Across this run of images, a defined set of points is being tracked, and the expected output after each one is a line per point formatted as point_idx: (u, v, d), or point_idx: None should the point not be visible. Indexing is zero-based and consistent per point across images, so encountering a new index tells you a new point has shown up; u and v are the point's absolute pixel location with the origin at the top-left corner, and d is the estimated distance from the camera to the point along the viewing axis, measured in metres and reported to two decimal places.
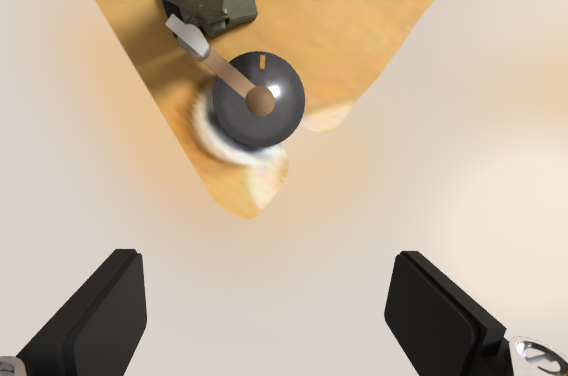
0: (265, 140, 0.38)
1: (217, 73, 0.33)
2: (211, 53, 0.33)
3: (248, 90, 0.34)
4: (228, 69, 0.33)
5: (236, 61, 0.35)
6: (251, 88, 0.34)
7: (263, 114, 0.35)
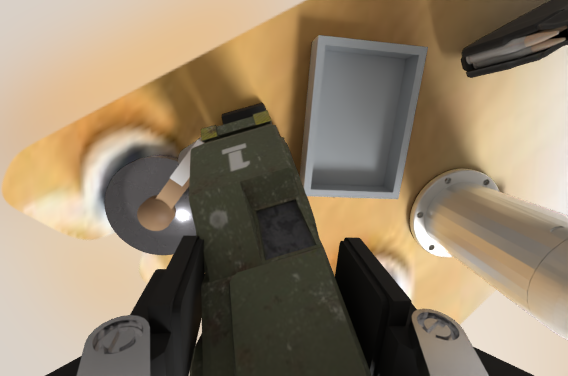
0: (115, 216, 0.32)
1: None
2: None
3: (165, 202, 0.30)
4: (186, 180, 0.30)
5: None
6: (168, 205, 0.30)
7: (139, 219, 0.30)
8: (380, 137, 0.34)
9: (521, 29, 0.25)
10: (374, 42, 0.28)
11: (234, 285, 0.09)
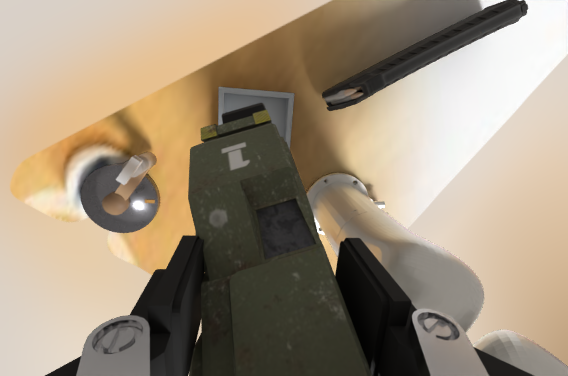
0: (88, 205, 0.47)
1: None
2: None
3: (121, 195, 0.45)
4: (134, 181, 0.44)
5: (147, 183, 0.47)
6: (123, 197, 0.45)
7: (104, 207, 0.45)
8: None
9: (343, 85, 0.40)
10: (256, 91, 0.43)
11: (233, 284, 0.09)
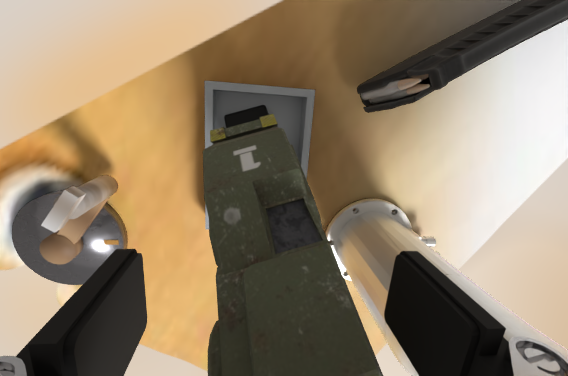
0: (23, 249, 0.33)
1: None
2: None
3: (67, 237, 0.31)
4: (86, 217, 0.31)
5: (106, 217, 0.33)
6: (70, 240, 0.31)
7: (42, 254, 0.31)
8: None
9: (396, 73, 0.26)
10: (260, 86, 0.29)
11: (247, 276, 0.10)
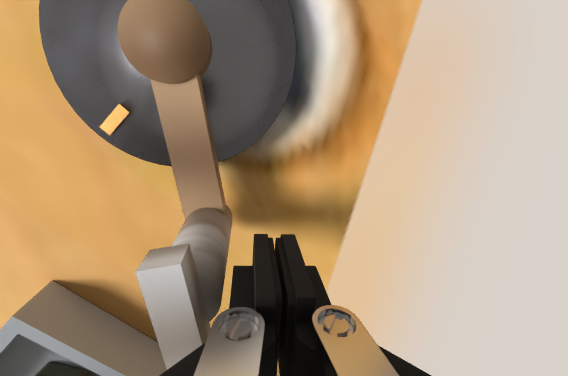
0: None
1: (211, 169, 0.14)
2: (192, 208, 0.14)
3: (174, 86, 0.12)
4: (182, 159, 0.13)
5: (169, 157, 0.15)
6: (163, 84, 0.12)
7: (180, 0, 0.11)
8: None
9: None
10: None
11: None
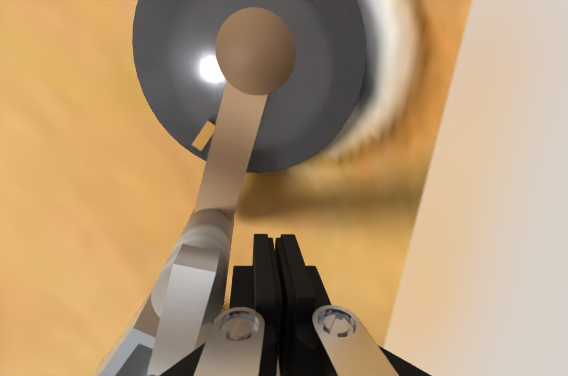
0: None
1: (240, 179, 0.14)
2: (206, 205, 0.14)
3: (244, 95, 0.13)
4: (218, 159, 0.14)
5: (255, 164, 0.16)
6: (236, 89, 0.13)
7: (285, 31, 0.12)
8: None
9: None
10: None
11: None
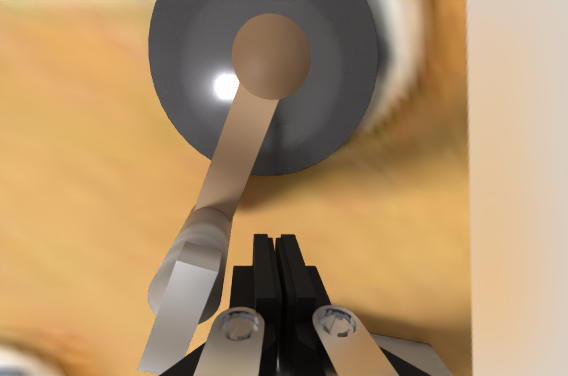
0: None
1: (243, 181, 0.14)
2: (207, 204, 0.14)
3: (255, 98, 0.13)
4: (224, 159, 0.14)
5: (297, 163, 0.16)
6: (248, 92, 0.13)
7: (302, 39, 0.13)
8: None
9: None
10: None
11: None
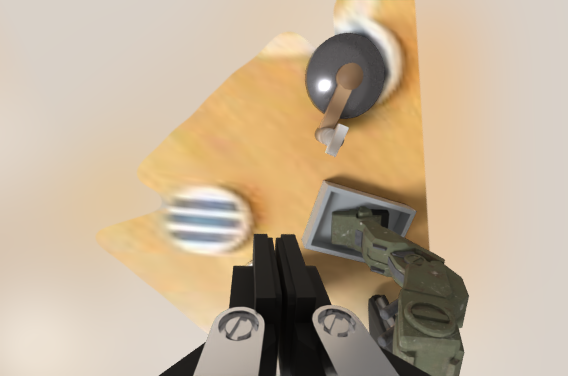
0: (352, 40, 0.41)
1: (338, 117, 0.42)
2: (325, 126, 0.42)
3: (344, 89, 0.40)
4: (332, 109, 0.41)
5: (354, 114, 0.44)
6: (342, 87, 0.40)
7: (361, 70, 0.40)
8: None
9: None
10: None
11: (456, 322, 0.26)
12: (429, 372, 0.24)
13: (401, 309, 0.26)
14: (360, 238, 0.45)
